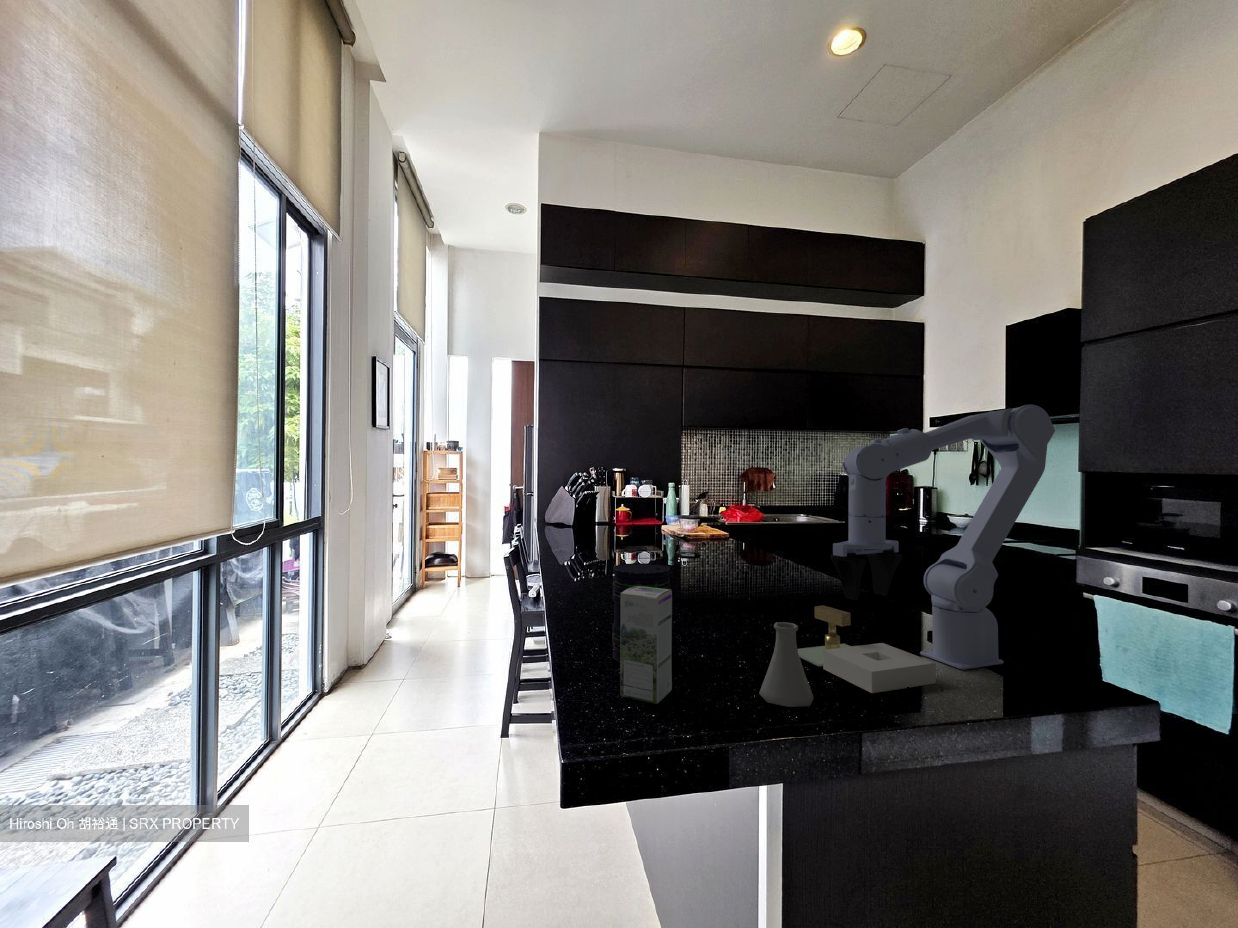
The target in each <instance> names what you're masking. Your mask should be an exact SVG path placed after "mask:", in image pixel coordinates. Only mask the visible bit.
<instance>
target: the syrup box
mask: <svg viewBox="0 0 1238 928" xmlns="http://www.w3.org/2000/svg"><path fill="white" fill-rule="evenodd" d="M672 592H673V590H672V589H671V588H670V589H660V588H651V587H642V586H634V587H631V588H628V589H626V590H625V591H623V592H622V593H621V597H620V607H621V626H620V662H619V664H620V666H619V667H620V673H619V674H620V676H619V677H620V679H619V680H620V681H619V682H620V685H619V689H620V691H619V695H620V697H624V698H628V699H631V700H637V701H641V702H645V703H650V704H655V705H658V704H659V703H660V702H661V701H662V700H663V699H664V698H665V697H667V696H668V694H670V693H671V691H672V689H673V682H672V681H673V679H672V641H673V640H672V633H673V632H672V629H673V628H672V627H673V626H672V625H673V621H672V620H673V619H672V618H673V593H672Z"/></svg>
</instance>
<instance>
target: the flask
mask: <svg viewBox="0 0 1238 928" xmlns="http://www.w3.org/2000/svg"><path fill="white" fill-rule="evenodd" d="M773 628H774V629H775V644H774V647H773V648H774V649H773V650H774V651H773V653H772V657H771V659H770V662H769V666H768V669H767V671H766V673H765V674H766V675H765V677H764V679H763V682H762V684H761V686H760V687H761V688H760V690H759V693H758V694H759V696H761V697H762V698H763V699H764V701H765V702H766V703H768V704H774V705H779V706H783V707H787V708H794V707H795V708H796V707H798V708H799V707H811V704H812V703H813V701H814V695H813V693H812V692H813V691H812V688H811V687H810V684H809V681H808V679H807V676H806V672H805V670H804V666H803V664H802V660H801V658H800V657H799V654H798V649H799V648H798V645H797V631H798V630H799V626H798V625H797V624H795V623H792V622H786V621H785V622H784V621H783V622H780V621H779V622H777V621H776V622H775V623H774V624H773Z"/></svg>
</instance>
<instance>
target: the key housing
mask: <svg viewBox="0 0 1238 928" xmlns="http://www.w3.org/2000/svg"><path fill="white" fill-rule="evenodd" d="M822 667H823V670H825V671H827V672H829V673H831V674H833V675H835V676H837V677H839V678H840V679H843V680H845V681H847V682H848V683H850V684H853V685H854V686H856V687H859V688H860V689H863V690H865V691H867V692H869V693H870V694H875V693H876V694H877V693H882V692H889V691H895V690H901V689H908V688H907V687H909V688H914V687H915V688H916V687H921V686H926V685H934V684H936V683H937V664H936V662H934V661H932V660H929V659H926V658H924V657H921V656H918V655H916V654H912V653H911V652H908V651H905V650H902V649H900V648H897V647H894V646H891V645H889V644H887V643H884V642H878V643H871V644H862V645H853V646H851V647H844V648H835V649H827V650H823V666H822Z"/></svg>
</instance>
